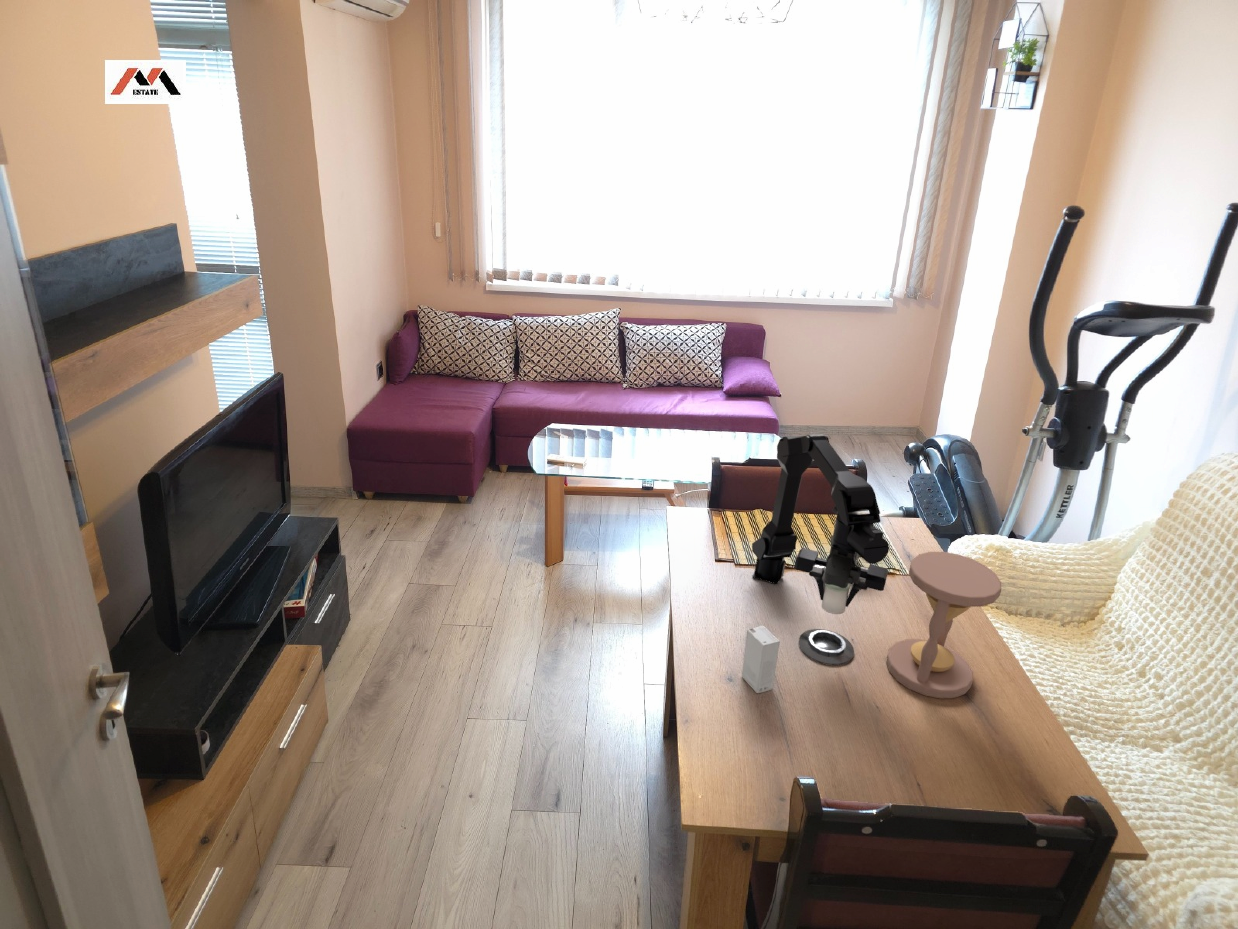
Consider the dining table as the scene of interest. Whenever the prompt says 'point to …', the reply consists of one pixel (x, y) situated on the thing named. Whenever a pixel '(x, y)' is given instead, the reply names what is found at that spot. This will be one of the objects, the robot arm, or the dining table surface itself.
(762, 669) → the skincare box
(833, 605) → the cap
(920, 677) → the hourglass
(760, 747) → the dining table surface
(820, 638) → the collar
